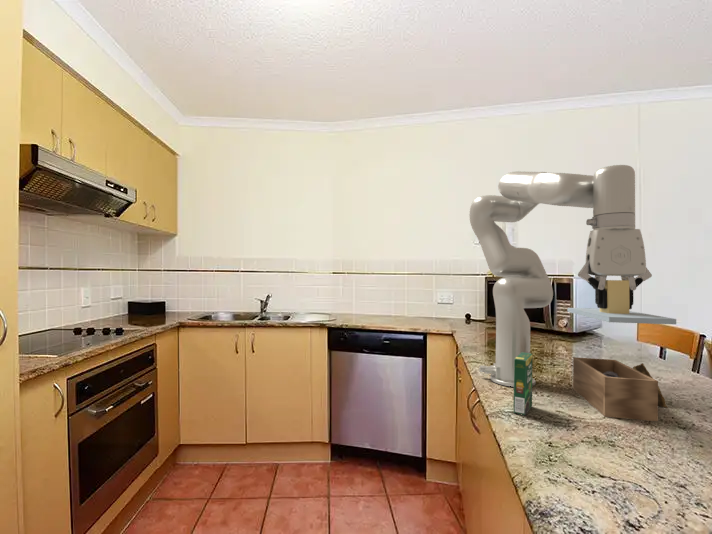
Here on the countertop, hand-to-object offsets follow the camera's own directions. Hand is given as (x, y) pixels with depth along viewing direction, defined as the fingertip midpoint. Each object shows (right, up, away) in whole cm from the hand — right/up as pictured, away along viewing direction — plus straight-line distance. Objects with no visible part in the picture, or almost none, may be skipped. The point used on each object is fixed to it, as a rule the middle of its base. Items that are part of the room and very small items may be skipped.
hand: (614, 307), depth 80 cm
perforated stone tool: (+8, -26, +14) cm, 31 cm away
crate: (+9, -26, +14) cm, 31 cm away
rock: (+21, -26, +18) cm, 38 cm away
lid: (0, -2, 0) cm, 2 cm away
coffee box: (-16, -26, +8) cm, 31 cm away
